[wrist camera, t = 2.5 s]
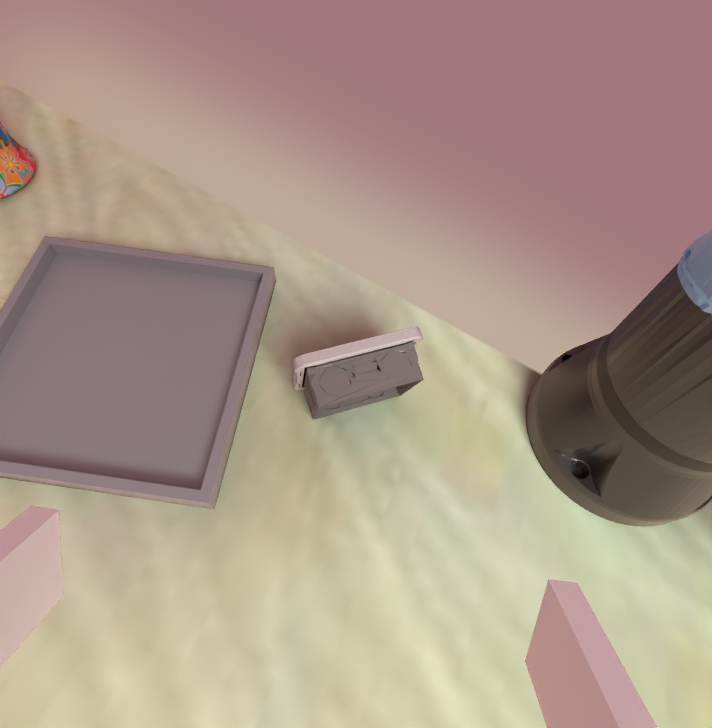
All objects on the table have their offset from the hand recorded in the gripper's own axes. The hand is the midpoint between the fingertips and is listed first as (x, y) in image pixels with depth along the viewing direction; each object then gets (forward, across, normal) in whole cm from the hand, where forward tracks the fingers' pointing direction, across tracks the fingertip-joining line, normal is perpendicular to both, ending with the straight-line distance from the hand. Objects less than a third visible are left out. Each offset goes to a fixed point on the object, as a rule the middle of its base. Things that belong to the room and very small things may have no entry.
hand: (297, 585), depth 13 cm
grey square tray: (+28, -19, -4) cm, 34 cm away
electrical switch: (+28, +1, -5) cm, 28 cm away
